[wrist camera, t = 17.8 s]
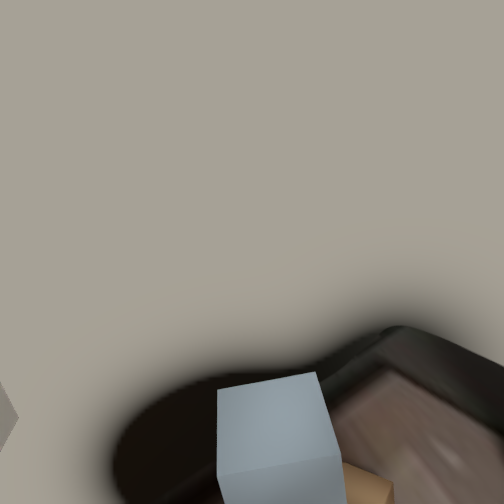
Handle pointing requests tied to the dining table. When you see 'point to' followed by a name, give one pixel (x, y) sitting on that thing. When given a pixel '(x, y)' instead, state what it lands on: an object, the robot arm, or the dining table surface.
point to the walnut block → (366, 487)
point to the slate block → (278, 444)
